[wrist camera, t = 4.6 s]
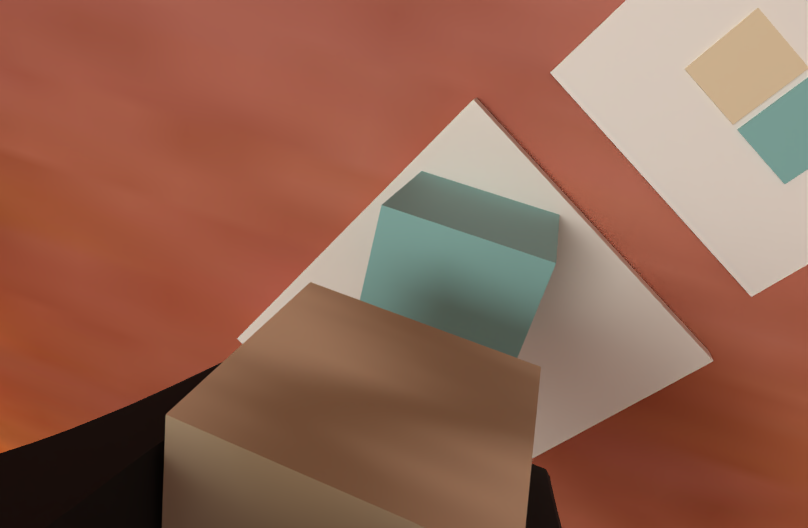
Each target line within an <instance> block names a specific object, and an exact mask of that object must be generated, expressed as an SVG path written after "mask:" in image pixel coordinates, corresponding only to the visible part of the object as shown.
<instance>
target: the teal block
mask: <svg viewBox="0 0 808 528" xmlns="http://www.w3.org/2000/svg"><path fill="white" fill-rule="evenodd" d="M559 216H560V215H559V214H556V213H553V212H549V211H546V210H543V209H540V208H537V207H534V206H531V205H527V204H524V203H521V202H518V201H515V200H512V199H509V198H505V197H502V196H499V195H496V194H493V193H490V192H487V191H483V190H480V189H477V188H474V187H471V186H468V185H465V184H461V183H458V182H455V181H452V180H449V179H446V178H442V177H439V176H436V175H433V174H430V173H427V172H424V171H421V172H420V173H419V174H418V175H416V176H415V177H414V178H413V179H412V180H410V181H409V182H408V183H407V184H406V185H404V186H403V187H402V188H401V189H400V190H399V191H397V192H396V193H395V194H394V195H393V196H391V197H390V198H389V199H388V200H387V201H386V202H384V203H383V204H382V205H381V209H380V214H379V218H378V222H377V227H376V231H375V236H374V240H373V244H372V249H371V253H370V257H369V262H368V266H367V271H366V275H365V279H364V284H363V288H362V292H361V297H360V300H361V301H363V302H366V303H369V304H372V305H374V306H377V307H380V308H382V309H385V310H388V311H391V312H393V313H396V314H399V315H401V316H404V317H407V318H410V319H412V320H415V321H418V322H421V323H423V324H426V325H429V326H431V327H434V328H437V329H440V330H442V331H445V332H448V333H450V334H453V335H456V336H459V337H461V338H464V339H467V340H469V341H472V342H475V343H478V344H480V345H483V346H486V347H488V348H491V349H494V350H497V351H499V352H502V353H505V354H507V355H510V356H513V357H516V358H518V355H519V353H520V350H521V348H522V345H523V343H524V340H525V338H526V336H527V333H528V331H529V328H530V326H531V323H532V321H533V319H534V316H535V314H536V311H537V309H538V306H539V304H540V301H541V299H542V297H543V294H544V292H545V289H546V287H547V284H548V282H549V280H550V277H551V275H552V272H553V270H554V267H555V265H556V259H557V245H558V231H559Z"/></svg>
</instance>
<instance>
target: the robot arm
mask: <svg viewBox="0 0 808 528" xmlns="http://www.w3.org/2000/svg"><path fill="white" fill-rule="evenodd" d="M220 364H221V363H220ZM220 364H218V365H215V366H213V367H211V368H209V369H207V370H205V371H203V372H201V373H199V374H197V375H194V376H192V377H190V378H188V379H186V380H184V381H182V382H180V383H178V384H175V385H173V386H171V387H169V388H167V389H164V390H162V391H160V392H158V393H156V394H153V395H151V396H149V397H147V398H144V399H142V400H140V401H138V402H136V403H133V404H131V405H129V406H126V407H124V408H122V409H119V410H117V411H114V412H112V413H109V414H107V415H104V416H102V417H99V418H97V419H95V420H92V421H90V422H87V423H85V424H82V425H80V426H77V427H75V428H72V429H70V430H67V431H64V432H62V433H59V434H56V435H53V436H51V437H48V438H45V439H42V440H39V441H37V442H34V443H31V444H28V445H25V446H22V447H18V448H15V449H12V450H9V451H6V452H3V453H0V528H162V505H163V476H164V447H165V418H166V414H167V413H168V412H169V411H170V410H171V409H172V408H173V407H174V406H175V405H177V404H178V403H179V402H180V401H181V400H182V399H183V398H184V397H185V396H186V395H187V394H189V393H190V392H191V391H192V390H193V389H194V388H195V387H196V386H197V385H198V384H199V383H201V382H202V381H203V380H204V379H205V378H206V377H207V376H208V375H209V374H210V373H211V372H213V371H214V370H215V369H216V368H217V367H218V366H219V365H220ZM525 528H562V527H561V523H560V519H559V515H558V512H557V507H556V503H555V499H554V495H553V490H552V486H551V481H550V477H549V475H548V473H547V471H546V469H544V468H541V467H539V466H536V465H534V464H532V465H531V475H530V486H529V496H528V506H527V516H526V527H525Z"/></svg>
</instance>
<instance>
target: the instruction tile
mask: <svg viewBox="0 0 808 528" xmlns="http://www.w3.org/2000/svg"><path fill="white" fill-rule="evenodd" d="M550 73H551V74H552V75H553V77H554V78H555V79H556V80H557V81H558V82H559V83H560V84H561V85H562V87H563V88H564V89H565V90H566V91H567V92H568V93H569V94H570V95H571V97H572V98H573V99H574V100H575V101H576V102H577V103H578V104H579V106H580V107H581V108H582V109H583V110H584V111H585V112H586V113H587V114H588V116H589V117H590V118H591V119H592V120H593V121H594V122H595V123H596V124H597V126H598V127H599V128H600V129H601V130H602V131H603V132H604V133H605V134H606V136H607V137H608V138H609V139H610V140H611V141H612V142H613V143H614V145H615V146H616V147H617V148H618V149H619V150H620V151H621V152H622V153H623V155H624V156H625V157H626V158H627V159H628V160H629V161H630V162H631V163H632V165H633V166H634V167H635V168H636V169H637V170H638V171H639V172H640V173H641V175H642V176H643V177H644V178H645V179H646V180H647V181H648V182H649V184H650V185H651V186H652V187H653V188H654V189H655V190H656V191H657V192H658V194H659V195H660V196H661V197H662V198H663V199H664V200H665V201H666V202H667V204H668V205H669V206H670V207H671V208H672V209H673V210H674V211H675V212H676V214H677V215H678V216H679V217H680V218H681V219H682V220H683V221H684V222H685V224H686V225H687V226H688V227H689V228H690V229H691V230H692V231H693V233H694V234H695V235H696V236H697V237H698V238H699V239H700V240H701V241H702V243H703V244H704V245H705V246H706V247H707V248H708V249H709V250H710V251H711V253H712V254H713V255H714V256H715V257H716V258H717V259H718V260H719V261H720V263H721V264H722V265H723V266H724V267H725V268H726V269H727V270H728V272H729V273H730V274H731V275H732V276H733V277H734V278H735V279H736V280H737V282H738V283H739V284H740V285H741V286H742V287H743V288H744V289H745V290H746V292H747V293H748V294H749V295H750V296H751V297H752V296H754V295H756V294H757V293H759V292H761V291H762V290H764V289H766V288H768V287H769V286H771V285H773V284H775V283H776V282H778V281H780V280H781V279H783V278H785V277H787V276H788V275H790V274H792V273H794V272H795V271H797V270H799V269H801V268H802V267H804V266H806V265H807V264H808V0H626V1H625V2H624V3H623V4H622V5H620V6H619V7H618V8H617V9H616V10H615V11H614V12H613V13H612V14H611V15H610V16H609V17H608V18H607V19H606V20H605V21H604V22H603V23H602V24H601V25H600V26H599V27H597V28H596V29H595V30H594V31H593V32H592V33H591V34H590V35H589V36H588V37H587V38H586V39H585V40H584V41H583V42H582V43H581V44H580V45H579V46H578V47H577V48H576V49H574V50H573V51H572V52H571V53H570V54H569V55H568V56H567V57H566V58H565V59H564V60H563V61H562V62H561V63H560V64H559V65H558V66H557V67H556V68H555V69H554V70H553V71H551V72H550Z"/></svg>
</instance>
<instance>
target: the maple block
mask: <svg viewBox="0 0 808 528" xmlns="http://www.w3.org/2000/svg"><path fill="white" fill-rule="evenodd" d="M540 373H541V367H540V366H537V365H535V364H532V363H529V362H526V361H524V360H521V359H518V358H516V357H513V356H510V355H507V354H505V353H502V352H499V351H497V350H494V349H491V348H488V347H486V346H483V345H480V344H478V343H475V342H472V341H469V340H467V339H464V338H461V337H459V336H456V335H453V334H450V333H448V332H445V331H442V330H440V329H437V328H434V327H431V326H429V325H426V324H423V323H421V322H418V321H415V320H412V319H410V318H407V317H404V316H401V315H399V314H396V313H393V312H391V311H388V310H385V309H382V308H380V307H377V306H374V305H372V304H369V303H366V302H363V301H361V300H358V299H355V298H353V297H350V296H347V295H344V294H342V293H339V292H336V291H334V290H331V289H328V288H325V287H323V286H320V285H317V284H315V283H312V282H310V283H309V284H308V285H306V286H305V287H304V288H303V289H302V290H301V291H300V292H299V293H298V294H297V295H296V296H294V297H293V298H292V299H291V300H290V301H289V302H288V303H287V304H286V305H285V306H284V307H282V308H281V309H280V310H279V311H278V312H277V313H276V314H275V315H274V316H273V317H272V318H270V319H269V320H268V321H267V322H266V323H265V324H264V325H263V326H262V327H261V328H260V329H258V330H257V331H256V332H255V333H254V334H253V335H252V336H251V337H250V338H249V339H248V340H246V341H245V342H244V343H243V344H242V345H241V346H240V347H239V348H238V349H237V350H236V351H234V352H233V353H232V354H231V355H230V356H229V357H228V358H227V359H226V360H225V361H223V362H222V363H221V364H220V365H219V366H218V367H217V368H216V369H215V370H214V371H213V372H211V373H210V374H209V375H208V376H207V377H206V378H205V379H204V380H203V381H202V382H201V383H199V384H198V385H197V386H196V387H195V388H194V389H193V390H192V391H191V392H190V393H189V394H187V395H186V396H185V397H184V398H183V399H182V400H181V401H180V402H179V403H178V404H177V405H175V406H174V407H173V408H172V409H171V410H170V411H169V412H168V413H167V414H166V418H165V447H164V476H163V505H162V528H525V527H526V516H527V506H528V496H529V486H530V475H531V465H532V455H533V445H534V434H535V424H536V414H537V403H538V393H539V383H540Z"/></svg>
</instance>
